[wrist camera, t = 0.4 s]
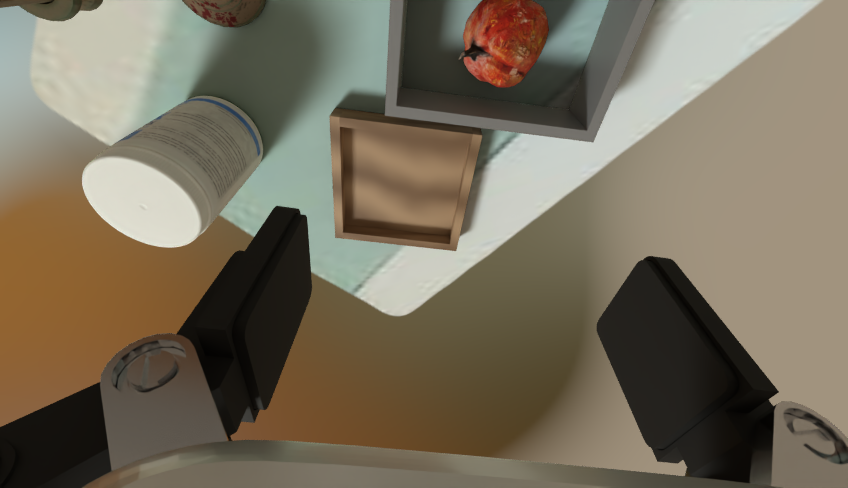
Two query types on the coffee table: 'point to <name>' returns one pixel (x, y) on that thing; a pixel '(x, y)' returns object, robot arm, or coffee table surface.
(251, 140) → the supplement tub
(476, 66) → the pomegranate
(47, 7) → the candlestick holder
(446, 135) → the tray
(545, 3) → the coffee table surface
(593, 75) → the grey open box
